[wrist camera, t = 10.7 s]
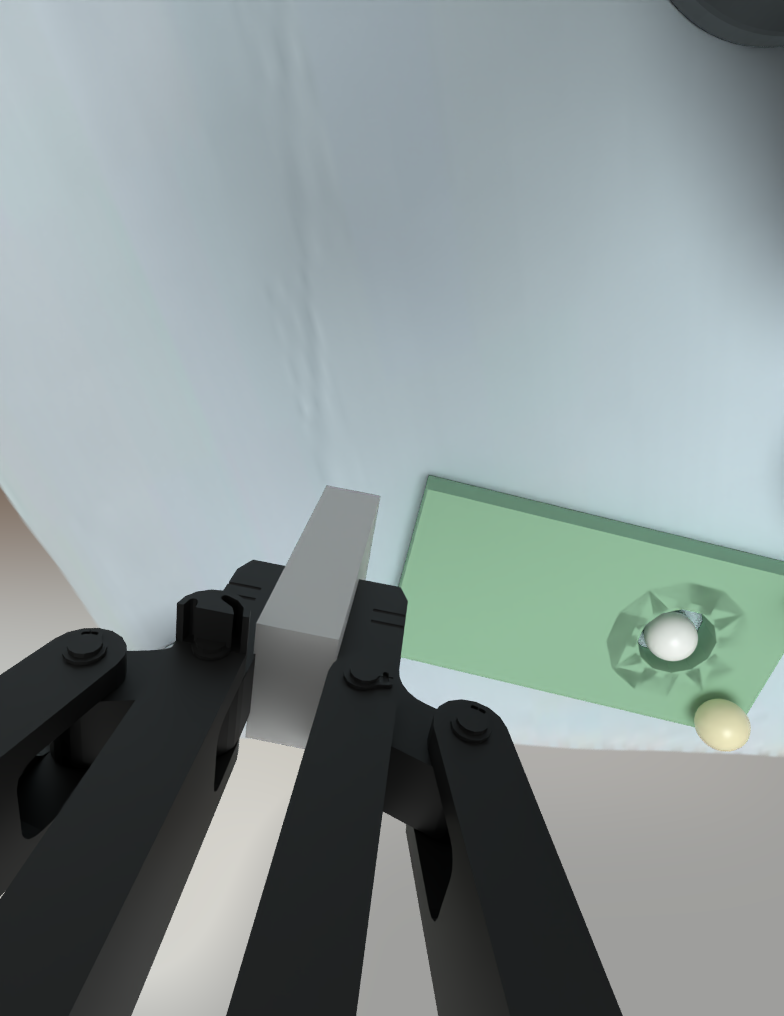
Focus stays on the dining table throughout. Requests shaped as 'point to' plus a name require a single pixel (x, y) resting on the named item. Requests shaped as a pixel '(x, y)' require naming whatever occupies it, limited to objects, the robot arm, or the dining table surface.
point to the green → (584, 603)
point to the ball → (671, 636)
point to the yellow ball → (722, 725)
